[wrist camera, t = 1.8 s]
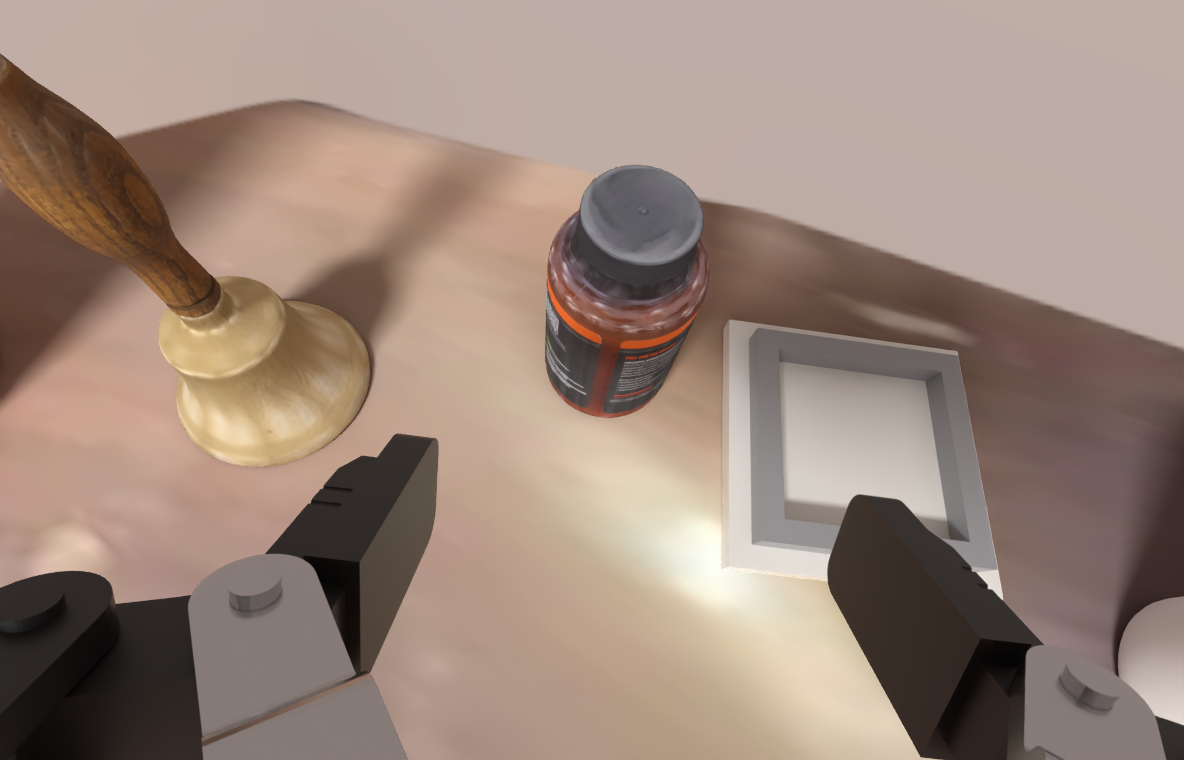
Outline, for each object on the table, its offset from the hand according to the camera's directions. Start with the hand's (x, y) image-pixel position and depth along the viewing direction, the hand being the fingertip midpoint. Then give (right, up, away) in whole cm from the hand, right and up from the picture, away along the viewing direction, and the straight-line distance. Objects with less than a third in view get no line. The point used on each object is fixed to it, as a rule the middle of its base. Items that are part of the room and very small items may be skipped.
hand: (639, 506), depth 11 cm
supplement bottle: (0, +3, +17) cm, 18 cm away
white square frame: (+11, -1, +16) cm, 20 cm away
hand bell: (-16, +2, +15) cm, 22 cm away
